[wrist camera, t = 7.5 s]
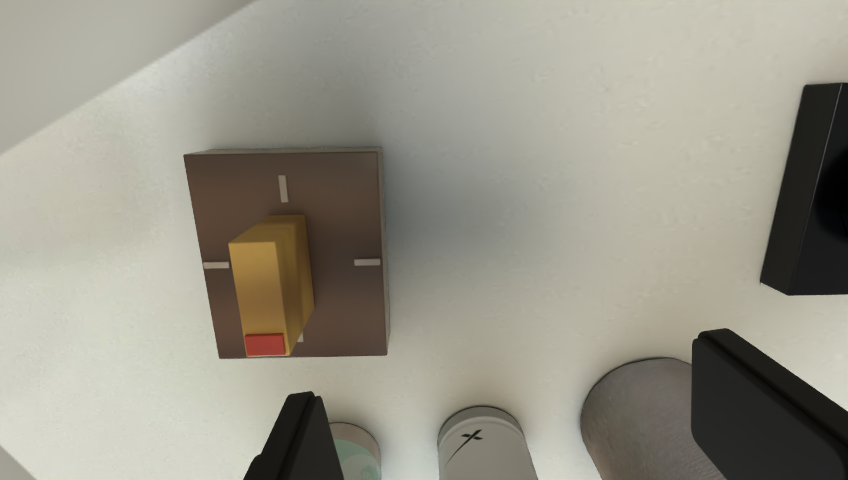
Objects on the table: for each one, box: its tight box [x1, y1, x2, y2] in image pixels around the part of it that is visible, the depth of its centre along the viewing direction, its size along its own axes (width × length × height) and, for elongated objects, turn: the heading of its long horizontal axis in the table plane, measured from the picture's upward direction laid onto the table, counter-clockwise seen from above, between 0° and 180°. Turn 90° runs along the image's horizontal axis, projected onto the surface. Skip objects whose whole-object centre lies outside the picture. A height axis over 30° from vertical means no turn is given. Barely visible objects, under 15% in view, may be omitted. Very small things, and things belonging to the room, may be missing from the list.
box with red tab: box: [228, 215, 315, 357], centre depth 21 cm, size 6×2×5 cm, turn 1°
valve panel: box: [184, 147, 390, 359], centre depth 25 cm, size 12×10×3 cm
